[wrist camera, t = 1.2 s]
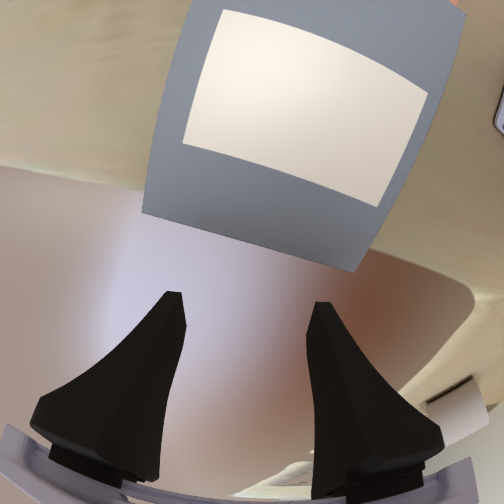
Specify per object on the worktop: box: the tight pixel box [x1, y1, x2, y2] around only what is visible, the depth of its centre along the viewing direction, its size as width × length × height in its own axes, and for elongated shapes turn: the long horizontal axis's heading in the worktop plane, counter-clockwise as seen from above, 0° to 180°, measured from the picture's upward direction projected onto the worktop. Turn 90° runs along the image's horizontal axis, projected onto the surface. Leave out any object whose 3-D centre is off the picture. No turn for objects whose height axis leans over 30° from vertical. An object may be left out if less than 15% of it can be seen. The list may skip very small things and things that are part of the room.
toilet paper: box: [426, 378, 489, 447], centre depth 32 cm, size 10×10×10 cm
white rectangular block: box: [183, 9, 428, 207], centre depth 11 cm, size 9×6×2 cm, turn 73°
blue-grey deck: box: [142, 0, 466, 273], centre depth 12 cm, size 13×18×4 cm
